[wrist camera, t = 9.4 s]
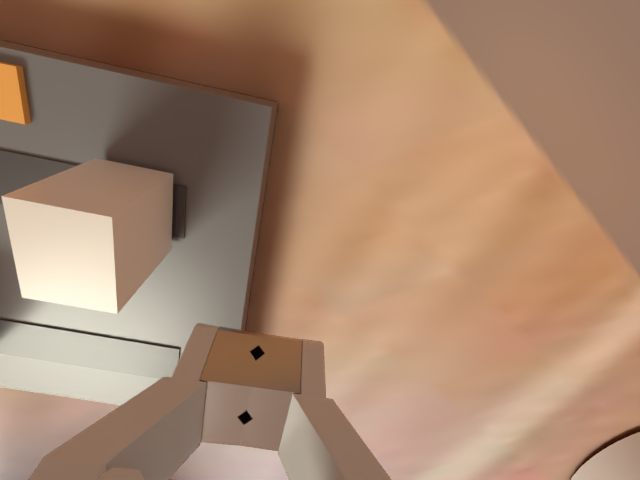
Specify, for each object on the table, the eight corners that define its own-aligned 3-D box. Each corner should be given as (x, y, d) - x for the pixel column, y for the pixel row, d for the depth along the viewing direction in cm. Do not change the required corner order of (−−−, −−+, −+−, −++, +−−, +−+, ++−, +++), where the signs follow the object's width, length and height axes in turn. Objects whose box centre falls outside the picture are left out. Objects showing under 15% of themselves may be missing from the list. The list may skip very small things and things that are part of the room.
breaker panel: (278, 102, 15) (270, 107, 13) (235, 393, 23) (226, 426, 21) (-241, -15, 13) (-344, -29, 11) (-96, 341, 21) (-141, 370, 19)
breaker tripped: (173, 173, 14) (111, 217, 10) (171, 249, 16) (117, 313, 12) (95, 157, 14) (1, 196, 10) (101, 236, 15) (21, 297, 11)
